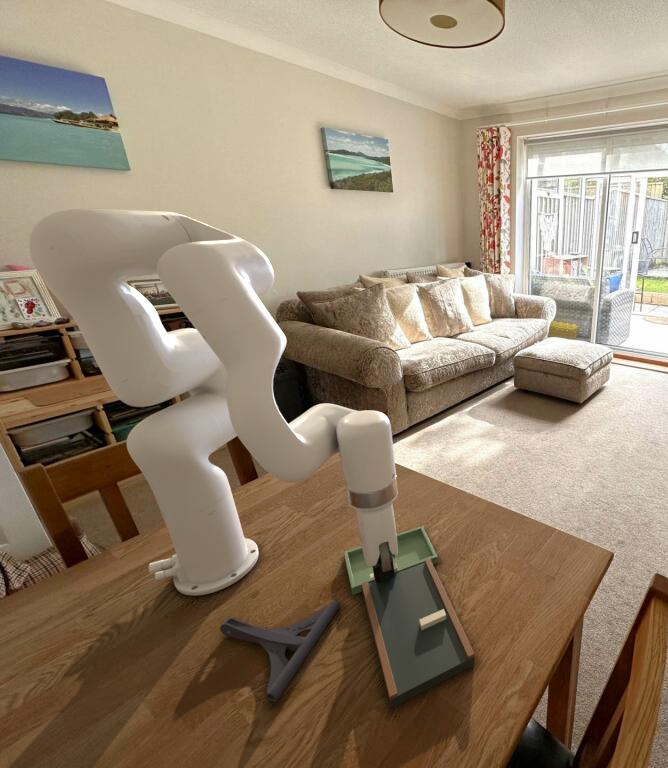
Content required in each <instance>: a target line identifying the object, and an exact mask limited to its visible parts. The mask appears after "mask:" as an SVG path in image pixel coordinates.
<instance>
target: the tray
mask: <svg viewBox="0 0 668 768" xmlns="http://www.w3.org/2000/svg"><path fill="white" fill-rule="evenodd" d="M396 535H397V544H398V555H397V557H396V558H395V557H393V556H392V558H393V565H394V564H397V568H398V572H401V571H404V570H406V569H409V568H412V567H414V566H417V565H420V564H422V563H425V560H426V559H429V558H430V560H431V562H432V564H433V565H436V564H438V562H439V561H438V560H439V559H438V555H437V552H436V551H435V549H434V546H433V544H432V543H431V540H430V538H429V536H428V534H427V532H426V531H425V528H424V526H423V525H421V526H418V527H415V528H412V529H409V530H406V531H403V532H399V533H396ZM343 557H344V561H345V568H346V571H347V575H348V581H349V586H350V589H351V594H352V595H353V596H355V595H357V594H359V593H363V590H362V583H364V582H367V581H368V584H369V583H372V582H374V581H375V579H374V578H371V579H370V577H369V574H372V573H373V566H372V567H369V566H367V564H366V561H365V558H364V554H363V550H362V546H361V545H360V546H357V547H353V548H350V549H348V550H345V551H343ZM398 572H395V574H396V573H398Z"/></svg>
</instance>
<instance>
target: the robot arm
mask: <svg viewBox="0 0 668 768" xmlns="http://www.w3.org/2000/svg"><path fill="white" fill-rule="evenodd" d="M29 254H30V258H31V261H32V264H33V266H34V268H35V270H36V272H37V274H38V275H39V277H40V279H41V280H42V281H43V283H44V285H45V286H46V287H47V289H49V291H50V292H51V293H52V294H53V295H54V297H55V298H56V299H57V300H58V302H60V304H61V305H62V306H63V307H64V308H65V310H66V311H67V312H68V314H69V315H70V317H72V318H73V320H74V322H75V324H76V325H77V327H78V329H79V332H80V334H81V335H82V338H83V339H84V342H85V343H86V345H87V347H88V349H89V351H90V352H91V355H92V357H93V358H94V360H95V362H96V365H97V366H98V367H99V370H100V372H101V373H102V375H103V377H104V379H105V381H106V383H107V385H108V387H109V388H110V390H111V391H112V392H113V394H114V395H115V396H116V398H117V399H119V400H120V401H121V402H122V403H124V404H125V405H128V406H130V407H133V408H134V407H135V408H145V407H151V406H154V405H158V404H161V403H164V402H166V401H169V400H172V399H174V398H176V397H178V396H180V395H182V394H185V393H187V392H188V393H189V395H190V397H188V398H185V399H184V400H181V401H178V402H176V403H174V404H172V405H170V406H167V407H165V408H163V409H161V410H159V411H157V412H155V413H153V414H150V415H149V416H147V417H145V418H144V419H142V420H141V421H140V422H138V423H137V424H136V425H135V426H134V427H132V429H131V430H130V431H129V433H128V435H127V437H126V450H127V452H128V454H129V456H130V458H131V459H132V461H133V462H134V464H135V465H136V466H137V467H138V469H139V470H140V472H141V473H142V475H143V476H144V477H145V480H146V481H147V483H148V485H149V487H150V488H151V491H152V494H153V495H154V498H155V500H156V503H157V506H158V508H159V511H160V513H161V516H162V518H163V521H164V524H165V527H166V530H167V532H168V535H169V537H170V541H171V543H172V545H173V548H174V552H175V554H173V555H172V556H171V557H169V558H166V559H161V560H157V561H153V562H150V563H149V564H148V572H149V574H150V575H151V576H152V575H154V580H155V581H156V582H159V581H162V580H165V579H167V578H170V577H171V578H172V577H173V584H174V588H175V589H176V590H177V591H178V592H179V593H181V594H183V595H186V596H195V597H196V596H204V595H208V594H212V593H216V592H219V591H221V590H224V589H225V588H228V587H229V586H231V585H233V584H236V582H239V580H241V579H243V577H245V576H246V575H247V574H248V573H249V572H250V571H251V570H252V569H253V568H254V566H255V565H256V563H257V561H258V559H259V554H260V552H259V547H258V545H257V543H256V542H255V541H254V540H252V539H250V538H247V537H245V535H244V531H243V528H242V524H241V521H240V518H239V517H240V516H239V514H238V510H237V506H236V503H235V499H234V496H233V493H232V489H231V485H230V483H229V479H228V476H227V474H226V472H224V470H223V469H222V468H220V467H218V466H216V465H215V464H213V463H211V462H210V460H209V457H210V456H211V455H212V454H213V453H215V452H216V451H217V450H218V449H219V448H221V447H222V446H224V445H226V444H227V443H229V442H230V441H232V440H233V439H235V438H236V437H237V438H238V440H240V442H241V443H242V445H243V447H245V448H246V450H247V451H248V452H249V453H250V455H251V456H252V457H253V458H254V459H255V460H256V462H257V463H258V464H259V465H260V466H261V467H262V468H263V469H264V471H266V472H267V473H268V474H269V475H271V476H272V477H274V478H275V479H277V480H280V481H282V482H285V483H292V484H293V483H301V482H304V481H306V480H308V479H309V478H312V476H314V474H316V473H317V472H318V471H319V470H320V469H321V468H322V467H323V466H324V465H325V464H326V463H327V462H328V461H329V460H330V459H331V458H332V457H333V456H335V455H336V454H338V453H339V456H340V462H341V463H340V464H341V470H342V474H343V475H342V476H343V481H344V486H345V493H346V498H347V499H346V500H347V504H348V506H349V507H350V508H351V509H353V510H354V511H355V517H356V524H357V532H358V536H359V542H360V546H362V550H363V554H364V558H365V561H366V564H367V566H369V567H372V566H373V573H374V578H375V582H376V583H379V582H382V581H384V580H387V579H390V578H392V577H394V576H395V573H394V565H393V558H392V556H393V557H395V558H396V557H397V555H398V544H397V535H396V534H397V528H396V518H395V511H394V505H393V503H394V501H396V499H397V498H398V496H399V488H398V487H399V486H398V479H397V468H396V461H395V452H394V451H395V450H394V443H393V434H392V426H391V421H390V419H389V417H388V416H387V415H386V414H385V413H383V412H381V411H378V410H374V409H373V410H371V409H369V410H366V409H365V410H356V409H352V408H348V407H345V406H342V405H338V404H334V403H327V402H325V403H319V404H316V405H313V406H312V407H310V408H309V409H307V410H306V411H305V412H303V413H302V414H300V415H299V416H297V417H296V418H294V419H293V420H292V421H290V422H289V423H288V422H287V420H286V419H285V418H284V416H283V414H282V413H281V411H280V409H279V406H278V405H277V402H276V399H275V395H274V378H275V373H276V370H277V367H278V365H279V362H280V360H281V358H282V356H283V353H284V351H285V349H286V347H287V342H288V340H287V336H286V335H285V333H284V332H283V330H282V329H281V327H280V326H279V324H278V323H277V321H275V318H274V317H273V316H272V315H271V313H270V312H269V311H268V309H267V308H266V306H265V305H264V303H263V302H262V301H261V299H260V298H259V297H262V296H264V295H266V294H267V293H269V292H270V291H271V289H272V288H273V285H274V283H275V271H274V268H273V265H272V263H271V262H270V259H269V258H268V256H266V254H264V252H263V251H262V250H261V249H259V247H257V246H256V245H255V244H253V243H251V242H250V241H248V240H246V239H243V238H241V237H239V236H236V235H234V234H232V233H230V232H226V231H224V230H222V229H220V228H217V227H213V226H211V225H209V224H207V223H204V222H202V221H199V220H197V219H194V218H192V217H189V216H188V215H184V214H180V213H177V212H173V211H165V210H164V211H162V210H146V209H145V210H143V209H141V210H140V209H121V208H98V207H97V208H94V207H92V208H74V209H65V210H59V211H55V212H52V213H49V214H47V215H46V216H43V217H42V218H41V219H39V220H38V221H37V222H36V223H35V224H34V226H33V228H32V230H31V233H30V236H29ZM152 275H158V279H159V281H160V282H161V285H163V287H164V288H165V290H166V292H167V293H168V294H169V295H170V296H171V298H172V299H173V300H174V302H175V303H176V305H177V306H178V307H179V309H180V310H181V311H182V313H183V314H184V316H185V317H186V318H187V319H188V320H189V322H190V323H191V324H192V326H193V327H194V328H191V327H187V328H179V329H175V330H171V331H167V330H166V328H165V327H164V325H163V324H162V321H161V317H160V316H159V313H158V311H157V310H156V308H155V307H154V305H153V304H152V302H150V301H149V300H148V299H147V297H145V296H144V295H143V294H142V293H141V292H140V291H138V290H137V289H136V288H134V287H133V286H131V285H129V284H128V283H126V282H124V280H126V279H127V278H132V277H133V278H134V277H143V276H152Z"/></svg>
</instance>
